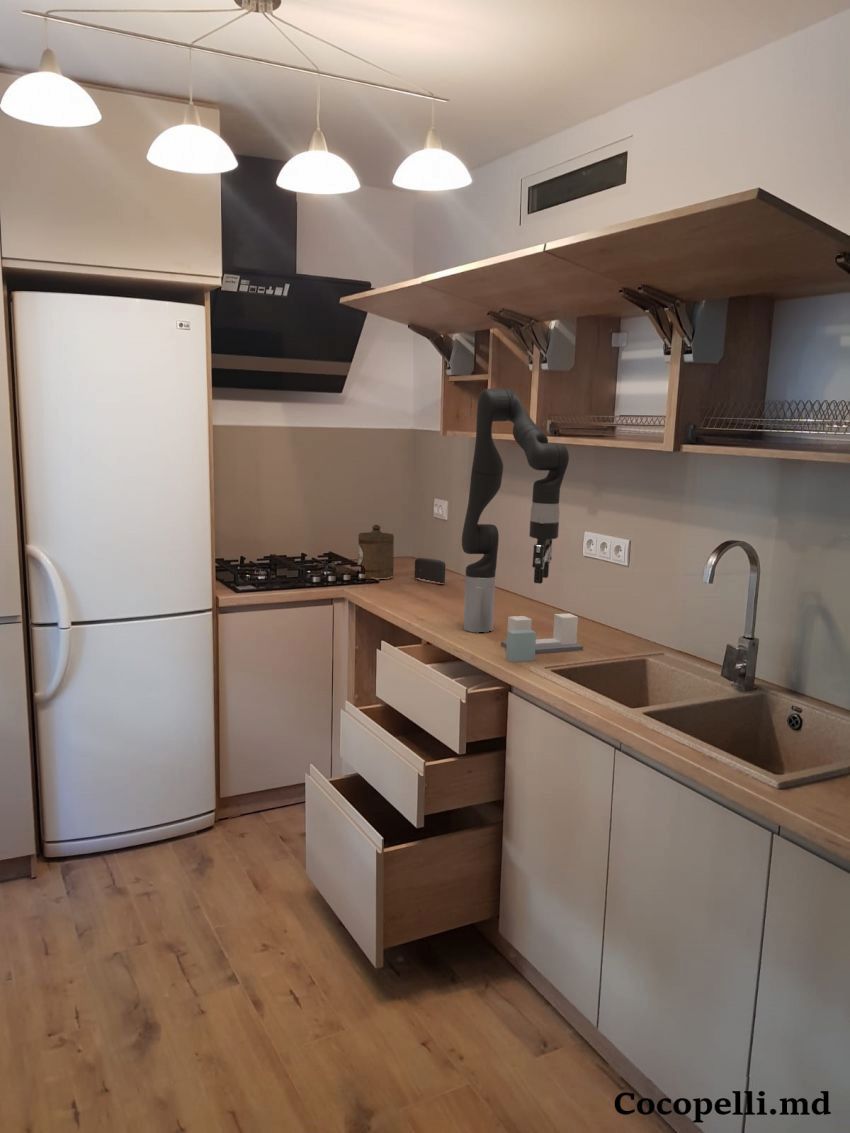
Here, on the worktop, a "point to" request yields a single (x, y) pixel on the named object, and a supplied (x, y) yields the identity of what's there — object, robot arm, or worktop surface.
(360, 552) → the wooden container
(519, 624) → the board
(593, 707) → the worktop surface
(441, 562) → the upright dark grey panel
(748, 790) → the worktop surface
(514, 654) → the block
